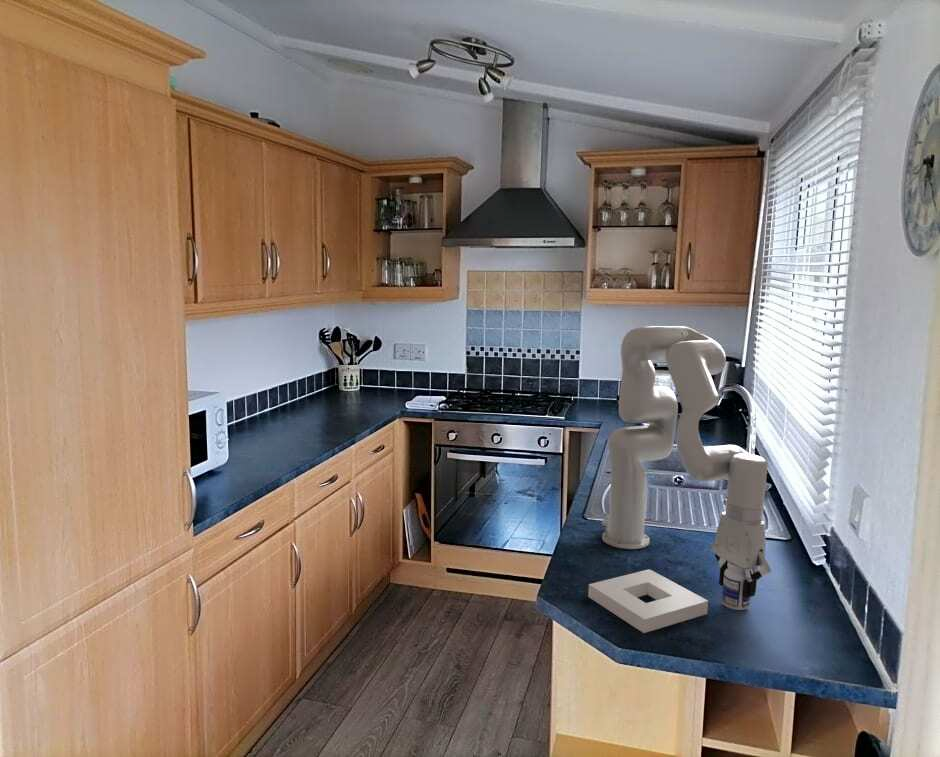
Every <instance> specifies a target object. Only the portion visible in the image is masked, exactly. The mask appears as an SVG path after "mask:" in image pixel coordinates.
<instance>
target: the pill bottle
mask: <svg viewBox="0 0 940 757" xmlns="http://www.w3.org/2000/svg"><path fill="white" fill-rule="evenodd" d="M727 566H728V568H727V569H726V570H725V571H724V580H723V585H722V591H721V592H722V594H721V596H722V597H721V602H722V604H723V605H724V606H725V607H726V608H728V609H731V610H735V611H745V610H747V609H749V607H750V603H751V602H750V601H751V597H748V598H744V597H743V585H744V580H747V578H746V573H745V569H744V568H741V567H739V566H737V565H735V564H733V563H731V562H729V561H728V563H727Z"/></svg>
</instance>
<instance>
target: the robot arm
mask: <svg viewBox="0 0 940 757" xmlns="http://www.w3.org/2000/svg"><path fill="white" fill-rule="evenodd" d="M620 347H621V348H620V356H621V367H622V370H621V371H622V372H621V377H620V378H621V379H620V388H619V398H618V399H619V400H618V414H619V417H620V418H621V420H622V421H623V422H624V423H628V424H643V423H645V424H646V423H649V424H648V425H635V426H624V427H621V428H617V429H616V430H614V431H613V432H612V433H611V434H610V436H609V439H608V451H609V452H608V453H609V458H610V459H609V460H610V486H609V487H610V489H609V505H608V506H609V508H608V515H607V516H606V517H605V518H604V519H602V521H601V524H602V525H603V526H605V529H606V530H605V531H604V532H602V535H601V538H602V541H603V542H604V543H605V544H607V545H608V546H611V547H615V548H619V549H624V550H638V549H640V550H641V549H644V548H646V547H647V546H649V545H650V537H649V536H648V535H647V534H646V533H645V522H646V521H645V520H646V506H647V504H646V503H647V491H648V490H647V486H648V485H647V484H648V479H647V478H648V477H647V475H646V472H645V470H644V469H643V467H642V466H641V463H645V462H652V461H659V460H664V459H666V458H667V457H669V456H670V454H671V453H672V451H673V448H674V443H676V446H677V450H678V453H679V456H680V458H681V462H682V465H683V467H684V470H685V471H686V473H687V474H688V475H689V477H690V478H691V479H693V480H694V481H697V482H712V481H721V480H722V481H723V480H727V489H726V490H727V491H726V497H725V498H726V499H724V500H723V502H722V504H723V505H724V506H725V510H724V511H723V512H721V515H720V518H719V521H718V524H717V529H716V536H715V540H714V541H713V543H711V544H710V548H711V550H712V551H713V553H714V556H715V558H716V560H717V566H718V568H719V577H718V585H720V586H721V587H723V580H724V571H725V570H726V569H727V568H728V566H727V563H728V561H729V562H731V563H733V564H735V565H737V566H739V567H741V568H744V569H745V573H746V578H747V580H744V585H743V597H744V598H748V597H750V598H753V597H755V595H756V591H757V582H758V581H759V580H760V579H761V578H762V577H765V576H766V575H768V574H771V572H772V570H771V567H770V566H769V563H768V562H767V560H766V557H765V556H766V546H767V545H766V543H767V542H766V525H765V521H763V515H764V505H765V504H764V503H765V497H766V496H765V494H766V484H767V477H768V476H767V475H768V462H767V460H766V458H764V457H763V456H760V455H757V454H752V453H750V452H748V451H747V450H745V449H743V448H742V447H741V446H739V445H736V444H724V445H709V446H704V445H703V442H702V438H701V437H700V432H699V422H700V420H701V417H702V416H703V414H705V413H707V412H708V411H710V410H712V409H713V408H715V407H716V406H717V404H718V403H719V401H720V396H719V394H718V391H717V389H716V386H715V383H714V380H713V378H712V376H714V375H715V376H716V375H718V374H720V373H722V372H723V370H724V368H725V366H726V362H727V359H726V353H725V350H724V348H722V346H721V344H719V343H718V342H717V341H716V340H714V339H713V338H711V337H709V336H707V335H705V334H703V333H702V332H701V333H700V332H698V331H696V330H695V329H693V328H690V327H688V326H684V325H683V326H682V325H680V326H679V325H675V326H674V325H671V326H670V325H669V326H667V325H666V326H662V325H660V326H659V325H657V326H656V325H654V326H650V325H649V326H641V327H636V328H632V329H631V330H629V331H628V332H626V334H624V337H623V339H622V341H621V346H620ZM652 361H665V362H666V367H667V368H668V372H669V374H670V378H671V380H672V383H673V386H674V388H675V391H676V394H677V395H676V394H675V392H674V391H673V390H672V389H671V388H670V387H667V386H664V385H655V384H656V383H655V382H656V370H655V367H654V364H653V362H652ZM676 396H678V398H677V397H676ZM677 399H679V402H680V406H681V414H680V417H679V419H678V410H679V405H678V400H677ZM677 420H678V422H677ZM675 434H676V437H675ZM675 439H676V440H675ZM674 441H676V442H674ZM759 567H760V568H759Z"/></svg>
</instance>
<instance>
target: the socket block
mask: <svg viewBox="0 0 940 757" xmlns="http://www.w3.org/2000/svg"><path fill="white" fill-rule="evenodd" d="M587 594H588V596H587V597H588V598H589V599H591V600H592V601H594V602H596V603H597V604H598V605H600V606H602V607H603V608H605V609H606V610H608V611H609V612H611V613H612V614H614V615H616V616H617V617H618V618H620V619H622V620H623V621H625V622H626V623H628V624H629V625H630V626H632V627H633V628H635V629H637V630H638V631H640V632H641V633H643V634H645V633H649V632H653V631H655V630H659V629H662V628H667V627H668V626H672V625H676V624H678V623H682V622H685V621H689V620H692V619H696V618H699V617H702V616H705V615H708V608H709V607H708V606H709V600H708V599H705V598H704V597H702V596H700V595H698V594H697V593H694V592H693V591H691V590H689V589H687V588H685V587H684V586H682V585H679V584H678V583H676V582H674V581H673V580H671V579H669V578H667V577H665V576H663V575H661V574H660V573H657V572H655V571H653V570H652V569H645V570H641V571H637V572H633V573H629V574H625V575H620V576H617V577H613V578H609V579H604V580H600V581H596V582H593V583H589V584H588V593H587ZM647 595H648V596H649V597H650V598H652V599H655V600H652V601H649V602H645V601H643V600H641V599H640V597H644V596H647Z"/></svg>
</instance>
